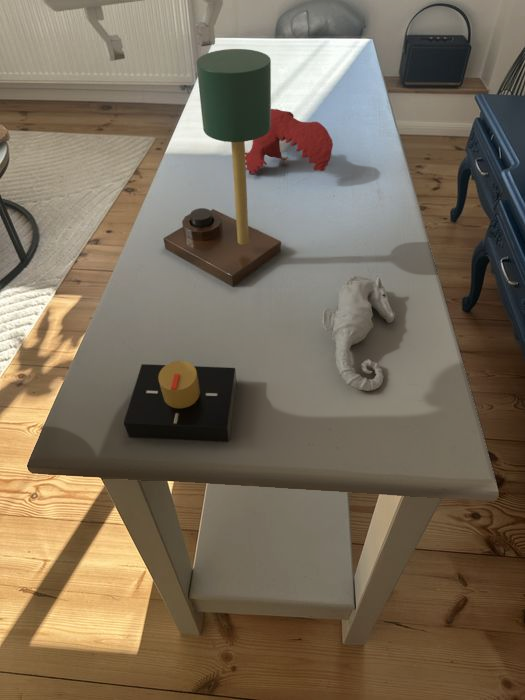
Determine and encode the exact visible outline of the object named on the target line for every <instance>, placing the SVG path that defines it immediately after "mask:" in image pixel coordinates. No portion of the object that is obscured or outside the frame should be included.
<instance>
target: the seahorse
mask: <svg viewBox="0 0 525 700" xmlns="http://www.w3.org/2000/svg"><path fill="white" fill-rule="evenodd" d="M386 292H387V291H386V288H385V286H384V285H383V283H382V280H381V278H380V276H377V277H376V280H373V279H371V278H369V277H365V276H361V275H354V276H350V277H349V278H348V279H346V281H345V283H343V285H342V286H341V289H340V291H338V304H337V310H336V311H334V310H332V309H330V308H325V309H324V310H323V312H322V317H321V318H322V321H321V322H322V327H323V329H325V331H328V332H330V331H332V332H331V341H332V342H333V343H335V353H334V357H335V361H336V362H335V366H336V368H337V370H338V375H339V376H340V377H341V378H342V380H344V381H345V382H346V385H348V386H350V387H352V388H355V389H357V390H358V391H364V392H365V391H367V392H371V391H374V390H377V389H379V388H380V387H381V386H382V385H383V381H384V377H385V376H384V374H383V369H382V368H381V367H380V366H379V364H378V362H375V361H372V360H371V359H366V360H364V361H362V363H361V364H360V367H361V371H362V372H363V373H365V374H367V375H371V374H372V373H373V371H374V374H375V376H374V378H372V379H368V378H367V377H364V376H361V374H358V373H356V369H355V368H353V365H352V360H351V352H350V351H351V347H352V346H354V345H356V344H359V343H360V342H362V341H364V339H365V338H366V337H367V335H368V334H369V333H370V331H371V330H372V329H373V328H374V323H373V321H372V317H373V316H374V312H373V309H372V308H374V309H375V310H376V311H377V312H378V315H379V316H380V317H382V318H383V319H384V320H385V322H386V323H387V324H391V323H392V322H394V320H395V317H396V313H395V312H394V311H393V309H392V307H391V305H390V302H389V298H388V295H387V293H386ZM368 368H370V369H372V370H369V369H368Z"/></svg>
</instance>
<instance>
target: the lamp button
mask: <svg viewBox="0 0 525 700" xmlns="http://www.w3.org/2000/svg"><path fill="white" fill-rule="evenodd" d="M210 210H211V209H208V208H206V207H200V208H196V209H195V208H194V209H193V210H192V211H191V212H190V213H189V214H190V217H191V224H192V226H193V227H196V228H205V227H209V226H210V225H212V223H213V221H212V212H211V211H210Z"/></svg>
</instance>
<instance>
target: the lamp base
mask: <svg viewBox="0 0 525 700" xmlns="http://www.w3.org/2000/svg"><path fill="white" fill-rule="evenodd" d="M209 210H210V211H211V212H212V221H213V223H212V225H210V226H209V227H205V228H196V227H193V226H192V224H191V217H190V213H189V214H187V215H185V216H184V218H183V219H182V221H181V224H182V227H180V228H178V229H177V230H175V231H173V232H171V233H169V234H168V235H165V237H163V244H164V248H165V250H167V251H168V252H170V253H172V254H174V255H176V256H177V257H179V258H181V259H183V260H185V261H186V262H188V263H190V264H191V265H193V266H195V267H197V268H198V269H200V270H202V271H203V272H206V273H207V274H209V275H211V276H213V277H215V278H216V279H218V280H220V281H221V282H223V283H225V284H227V285H229V286H230V287H235V286H236V285H237V284H239V283H240V282H242V281H243V280H244V279H246V278H248V277H249V276H251V274H253V273H254V272H256V271H257V270H259V268H261V267H262V266H264V265H266V263H268V262H269V261H271V260H272V259H274V258H275V257H276V256H277V255H279V254H280V253H281V252H282V240H279V239H277V238H275V237H273V236H271V235H269V234H267V233H264V232H263V231H261V230H259V229H256V228H255V227H252V226H250V225H248V233H249V242H248V243H247V244H245V245H241V244H239V243H238V239H237V224H236V218H233V217H231V216H229V215H227V214H225V213H223V212H221V211H218V210H216V209H214V208H212V209H209Z"/></svg>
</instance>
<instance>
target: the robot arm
mask: <svg viewBox="0 0 525 700" xmlns="http://www.w3.org/2000/svg"><path fill="white" fill-rule="evenodd" d="M143 1H144V0H41V2H43V4H45V6H47V7H48V8H50V10H52V11H54V12H64V11H66V12H67V11H72V10H79V9H80V10H81V9H83V11H84V15H85V18H86V19H87V21H88V22H89V24H90V25H91V26H92V27H93V29H94V30H95V31H96V33H97V34H98V35H99V36H100V37H101V39H102V40H103V44H104V49H105V53H106V56H107V58H108V61H110V62H114V61H119V60H125V59H126V57H125V52H124V51H123V47H124V46H123V42H122V39H121V37H120V36H119V35H118V34H112V35H109V33H108V32H107V30H106V29H105V28H104V26H103V25H102V24H101V23H100V22H99V21H104V20H105V16H104V12H103V8H102V7H103V6H104V7H105V6H112V5H118V4H128V3H133V2H143ZM203 1H204V3H207V5H206V8H205V11H204V14H203V17H202V21H200V22H194V30H195V32H196V35H195V38H196V42H197V44H198V45H199V46H200V47H207V46H213V45H214V46H215V44H216V35H215V25H216V23H217V20H218V18H219V15H220V13H221V10H222V7H223V6H224V3H223V0H203Z"/></svg>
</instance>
